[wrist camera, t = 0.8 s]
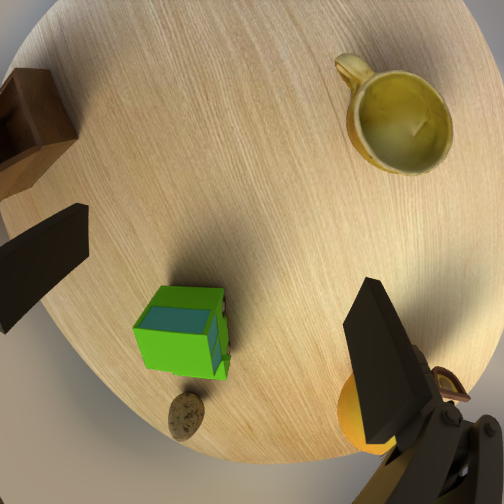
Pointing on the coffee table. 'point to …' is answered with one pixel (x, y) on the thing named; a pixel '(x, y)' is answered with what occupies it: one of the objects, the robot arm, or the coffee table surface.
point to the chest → (32, 123)
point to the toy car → (185, 332)
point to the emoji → (352, 414)
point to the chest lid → (15, 168)
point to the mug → (395, 118)
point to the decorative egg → (185, 416)
